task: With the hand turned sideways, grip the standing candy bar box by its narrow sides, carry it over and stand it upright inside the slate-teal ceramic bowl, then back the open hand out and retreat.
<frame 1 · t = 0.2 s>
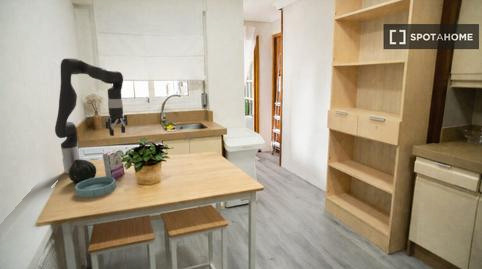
hand: (117, 134, 171), 29 cm above the table, tool pointing down, fingers open, 8 cm apart
candy bar box: (115, 177, 184), on the table
bowl: (96, 189, 165), on the table
squash: (84, 181, 179), on the table
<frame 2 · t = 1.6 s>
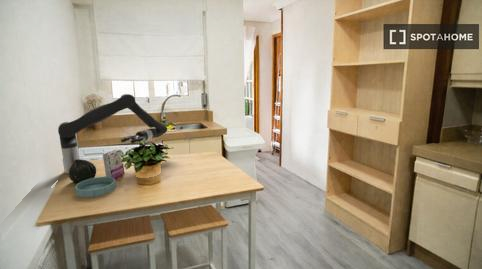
hand: (126, 141, 190), 20 cm above the table, tool horizontal, fingers open, 8 cm apart
nothing on the table moved.
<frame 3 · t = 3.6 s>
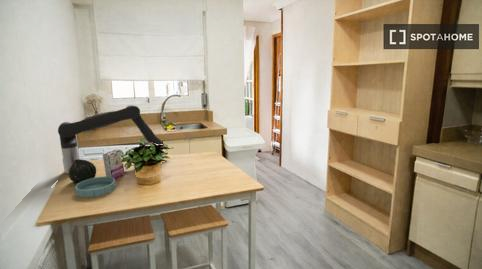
hand: (123, 159, 189), 9 cm above the table, tool horizontal, fingers open, 8 cm apart
nothing on the table moved.
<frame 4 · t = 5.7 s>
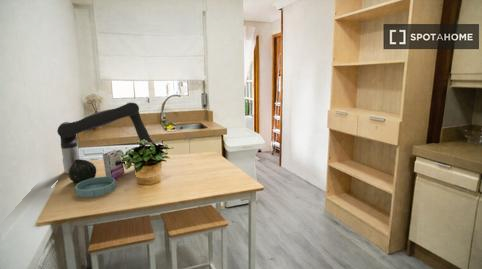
hand: (112, 163, 181), 9 cm above the table, tool horizontal, fingers closed on candy bar box, 5 cm apart
candy bar box: (115, 177, 184), on the table, touching gripper
everything else where it was.
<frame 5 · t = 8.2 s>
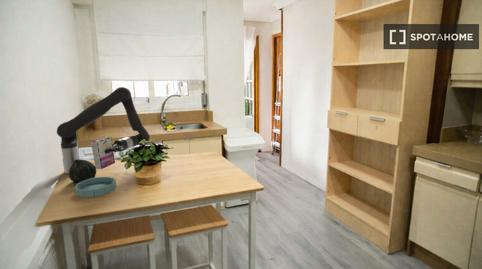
hand: (101, 151, 169), 20 cm above the table, tool horizontal, fingers closed on candy bar box, 5 cm apart
candy bar box: (105, 166, 172), point 10 cm above the table, touching gripper
everything else where it was.
when the fingers open (11 cm above the table, at t = 11.0 s): candy bar box stays where it is, resting on bowl.
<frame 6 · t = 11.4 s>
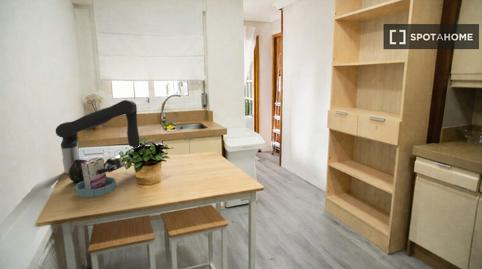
hand: (93, 171, 162), 11 cm above the table, tool horizontal, fingers open, 8 cm apart
candy bar box: (96, 188, 165), point 1 cm above the table, touching bowl
everything else where it was.
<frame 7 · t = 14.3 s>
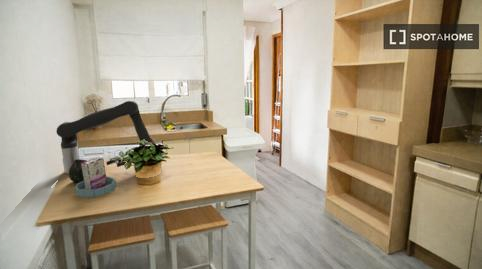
hand: (112, 164, 173), 11 cm above the table, tool horizontal, fingers open, 8 cm apart
nothing on the table moved.
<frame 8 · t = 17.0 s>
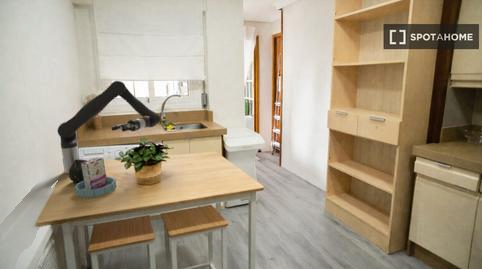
hand: (117, 129, 179), 30 cm above the table, tool horizontal, fingers open, 8 cm apart
nothing on the table moved.
at the end: candy bar box inside the target area on the bowl (0.2 cm from its centre), point 0.8 cm above the bowl's base; candy bar box tilted 0°; the gripper is holding nothing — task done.
